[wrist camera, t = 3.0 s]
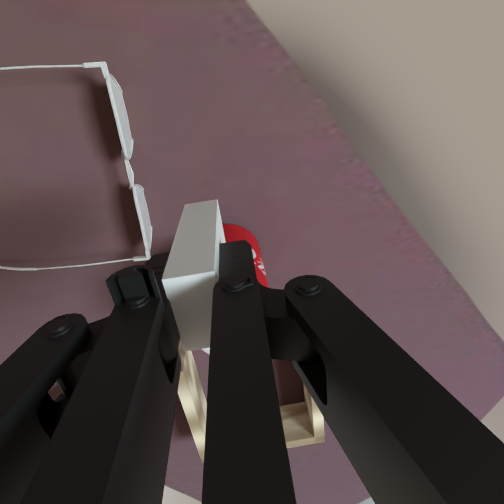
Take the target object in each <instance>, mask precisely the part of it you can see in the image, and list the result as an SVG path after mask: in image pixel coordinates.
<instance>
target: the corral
mask: <svg viewBox="0 0 504 504" xmlns="http://www.w3.org/2000/svg"><path fill="white" fill-rule="evenodd" d="M178 351H179V354H180V357H181V363H182V365H181V372H180V379H179V386H178V395H179V398H180V401H181V404H182V406H183V409H184V412H185V415H186V418H187V421H188V424H189V426H190V429H191V432H192V435H193V438H194V441H195V444H196V446H197V449H198V452H199V455H200V458H201V461H202V463H203V462H204V451H205V432H206V413H207V402H206V399H205V395H204V392H203V389H202V385H201V382H200V378H199V375H198V372H197V368H196V365H195V361H194V358H193V355H192V351H185V352H184V351H183V348H182V345H181V341H179V347H178ZM303 386H304V397H305V402H299V403H294V404H288V405H282V406H280V412H281V418H282V423H283V429H284V435H285V441H286V447H287V448H291V447H297V446H303V445H309V444H315V443H321V442H325V439H324V420H323V415H322V414H321V412H320V410H319V408H318V407H317V405H316V403H315V402H314V400H313V398H312V397H311V395H310V393H309V392H308V390H307V388H306V387H305V385H304V383H303Z"/></svg>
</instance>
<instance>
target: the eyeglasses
mask: <svg viewBox="0 0 504 504" xmlns="http://www.w3.org/2000/svg"><path fill="white" fill-rule="evenodd" d="M49 67H84V68H90V67H101V68H102V72H103V75H104V78H105V77H106V84H107V88H108V92H109V97H110V101H111V105H112V109H113V112H114V116H115V120H116V124H117V129H118V133H119V138H120V142H121V146H122V150H121V156H122V158H123V159H124V160H125V165H126V169H127V174H128V178H129V182H130V186H129V189H130V190H131V189H133V196H134V201H135V206H136V210H137V214H138V218H139V222H140V227H141V232H142V237H143V241H144V245H145V249H146V251H145V253H146V255H144V256H135V257H133V258H131V259H124V260H117V261H109V262H101V263H93V264H84V265H73V266H61V267H49V268H16V267H6V266H0V269H7V270H39V269H54V268H66V267H78V266H88V265H97V264H104V263H112V262H119V261H127V260H134V261H144V260H149V259H150V258H151V256H150V249H151V241H152V226H151V224H150V218H149V213H148V208H147V204H146V200H145V196H144V192H143V190H144V189H143V187H142V186H140V185H138V184H134V174H133V171H132V169H131V166H130V163H129V161H128V160H129V159H130V158H131V156H132V150H133V139H132V138H131V132H130V126H129V121H128V116H127V112H126V108H125V104H124V100H123V96H122V93H123V91H122V89H121V87H120V86H119V84H118V83H117V81H116V80H115V78H114V77H113V76H112V75H111V74H109V71H108V68H107V64H106V62H91V63H83V64H82V65H45V66H18V67H4V68H0V70H5V69H20V68H49Z"/></svg>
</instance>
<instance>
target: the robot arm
mask: <svg viewBox="0 0 504 504" xmlns="http://www.w3.org/2000/svg"><path fill="white" fill-rule="evenodd" d="M106 283H107V286H108V288H109V291H110V293H111V296H112V298H113V301H114V303H115V306H114V309H113V311H112V313H111V315H110V316H109V317H106V318H104V319H101V320H98V321H95V322H92V323H89V324H88V323H87V321H86V319H85V317H84V316H83V315H82V314H76V313H73V314H65V315H61V316H58V317H56V318H54V319H53V320H51V321H49V322H47V323H46V324H44V325H43V326H42V327H40V328H39V329H38V330H37V331H36V332H35V333H34V334H33V335H32V336H31V337H30V338H29V339H27V340H26V341H25V342H24V343H23V344H22V345H21V346H20V347H19V348H18V349H17V350H16V351H15V352H14V353H13V354H12V355H11V356H10V357H8V358H7V359H6V360H5V361H4V362H3V363H2V364H1V365H0V504H162V498H163V490H164V484H165V477H166V470H167V463H168V456H169V449H170V442H171V435H172V428H173V421H174V414H175V407H176V400H177V393H178V386H179V379H180V372H181V365H182V363H181V357H180V354H179V351H178V347H179V341H181V345H182V348H183V351H184V352H185V351H191V350H197V349H204V348H210V355H209V375H208V394H207V413H206V432H205V451H204V470H203V489H202V504H296V499H295V493H294V487H293V481H292V475H291V470H290V464H289V458H288V452H287V447H286V441H285V435H284V429H283V423H282V418H281V412H280V406H279V400H278V395H277V389H276V383H275V377H274V371H273V366H272V360H271V359H280V360H289V361H292V363H293V367H294V368H295V370H296V372H297V373H298V375H299V377H300V378H301V380H302V382H303V383H304V385H305V387H306V388H307V390H308V392H309V393H310V395H311V397H312V398H313V400H314V402H315V403H316V405H317V407H318V408H319V410H320V412H321V414H322V415H323V417H324V419H325V420H326V422H327V424H328V425H329V427H330V429H331V430H332V432H333V434H334V435H335V437H336V439H337V440H338V442H339V444H340V445H341V447H342V449H343V450H344V452H345V454H346V455H347V457H348V459H349V460H350V462H351V464H352V465H353V467H354V469H355V471H356V472H357V474H358V476H359V477H360V479H361V481H362V482H363V484H364V486H365V487H366V489H367V491H368V492H369V494H370V496H371V497H372V499H373V501H374V502H375V504H504V444H503V442H502V441H501V440H500V439H499V438H497V437H496V436H495V435H494V434H493V433H492V432H491V431H490V430H489V429H488V428H487V427H486V426H485V425H483V424H482V423H481V422H480V421H479V420H478V419H477V418H476V417H475V416H474V415H473V414H472V413H471V412H470V411H469V410H467V409H466V408H465V407H464V406H463V405H462V404H461V403H460V402H459V401H458V400H457V399H456V398H455V397H453V396H452V395H451V394H450V393H449V392H448V391H447V390H446V389H445V388H444V387H443V386H442V385H441V384H440V383H438V382H437V381H436V380H435V379H434V378H433V377H432V376H431V375H430V374H429V373H428V372H427V371H426V370H425V369H423V368H422V367H421V366H420V365H419V364H418V363H417V362H416V361H415V360H414V359H413V358H412V357H411V356H410V355H408V354H407V353H406V352H405V351H404V350H403V349H402V348H401V347H400V346H399V345H398V344H397V343H396V342H395V341H393V340H392V339H391V338H390V337H389V336H388V335H387V334H386V333H385V332H384V331H383V330H382V329H381V328H380V327H378V326H377V325H376V324H375V323H374V322H373V321H372V320H371V319H370V318H369V317H368V316H367V315H366V314H365V313H363V312H362V311H361V310H360V309H359V308H358V307H357V306H356V305H355V304H354V303H353V302H352V301H351V300H350V299H348V298H347V297H346V296H345V295H344V294H343V293H342V292H341V291H340V290H339V289H338V288H337V287H336V286H335V285H333V284H332V283H331V282H330V281H329V280H327V279H325V278H324V277H320V276H316V275H304V276H299V277H296V278H294V279H291V280H290V281H289V282H288V283H287V284H286V285H285V288H284V290H281V289H271V288H268V287H265V286H263V285H261V284H260V283H259V282H258V279H257V276H256V270H255V264H254V259H253V253H252V247H251V244H250V243H248V242H247V241H246V240H239V241H233V242H227V243H226V242H225V236H224V231H223V226H222V221H221V216H220V210H219V205H218V200H210V201H204V202H198V203H191V204H185V206H184V209H183V213H182V216H181V219H180V222H179V225H178V229H177V232H176V235H175V238H174V241H173V245H172V248H171V251H170V252H169V253H163V254H156V255H154V256H153V257H151V258H150V259H149V260H148V261H147V262H146V264H145V266H144V265H138V266H131V267H127V268H124V269H122V270H120V271H117V272H116V273H114V274H113V275H111V276H110V277H109V278H108V279H107V280H106ZM55 382H56V383H57V385H58V387H59V389H60V390H61V392H62V393H61V395H60V396H59V397H58V398H57V399H56V400H55V401H53V400H52V398H51V397H50V395H49V393H48V391H49V389H50V388H51V387H52V386H53V385H54V383H55Z"/></svg>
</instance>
